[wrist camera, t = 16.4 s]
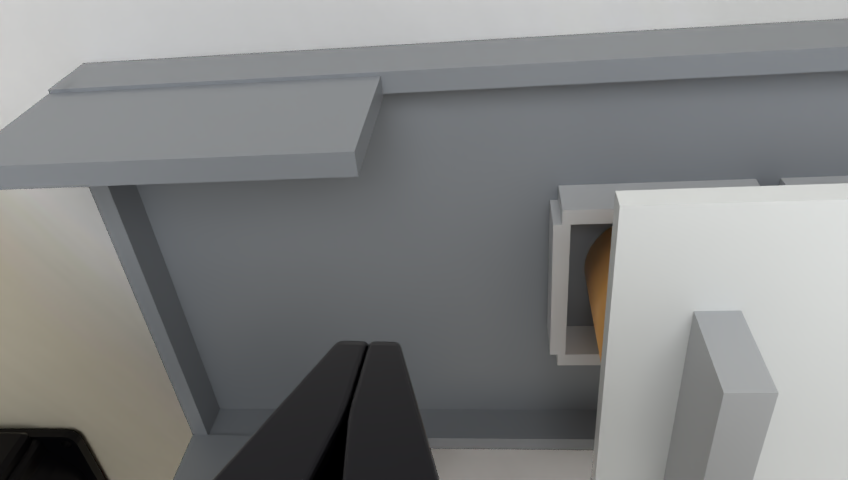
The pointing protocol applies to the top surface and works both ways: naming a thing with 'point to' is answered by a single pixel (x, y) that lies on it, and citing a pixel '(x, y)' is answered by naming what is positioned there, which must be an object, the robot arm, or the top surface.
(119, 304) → the top surface
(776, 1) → the top surface
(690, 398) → the lid
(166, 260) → the housing
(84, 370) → the top surface
